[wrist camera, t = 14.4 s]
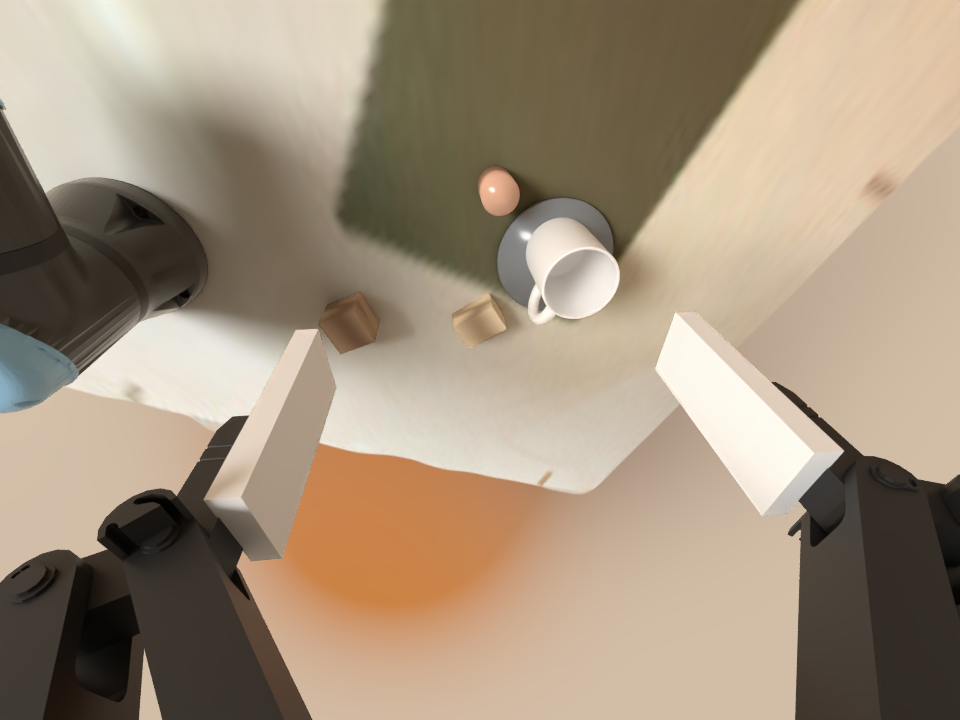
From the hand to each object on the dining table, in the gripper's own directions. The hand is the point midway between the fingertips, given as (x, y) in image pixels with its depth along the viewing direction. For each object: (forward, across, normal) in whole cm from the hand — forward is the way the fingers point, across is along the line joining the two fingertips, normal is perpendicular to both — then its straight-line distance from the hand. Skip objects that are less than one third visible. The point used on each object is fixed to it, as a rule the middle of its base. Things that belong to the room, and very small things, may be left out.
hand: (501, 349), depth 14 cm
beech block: (+35, +2, -19) cm, 40 cm away
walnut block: (+35, -15, -18) cm, 42 cm away
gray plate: (+35, +12, -11) cm, 38 cm away
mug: (+34, +11, -11) cm, 38 cm away
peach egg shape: (+35, +4, -2) cm, 35 cm away
